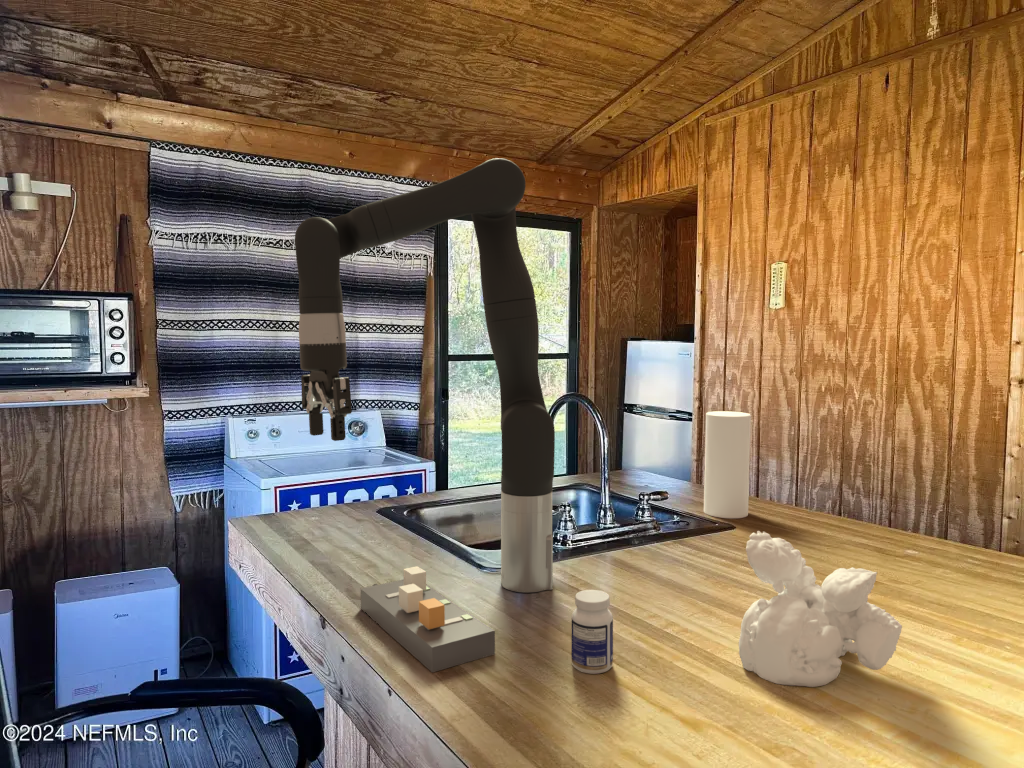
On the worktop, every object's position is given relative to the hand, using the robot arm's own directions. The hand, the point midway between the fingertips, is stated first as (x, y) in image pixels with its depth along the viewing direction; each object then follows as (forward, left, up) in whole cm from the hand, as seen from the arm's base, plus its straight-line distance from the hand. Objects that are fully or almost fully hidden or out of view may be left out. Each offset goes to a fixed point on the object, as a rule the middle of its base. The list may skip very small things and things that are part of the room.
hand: (327, 437), depth 122 cm
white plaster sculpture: (-74, +22, -28) cm, 82 cm away
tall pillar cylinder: (-84, -59, -28) cm, 106 cm away
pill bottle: (-43, +23, -28) cm, 56 cm away
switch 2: (-16, +13, -24) cm, 32 cm away
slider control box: (-16, +10, -28) cm, 34 cm away
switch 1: (-15, +5, -24) cm, 29 cm away
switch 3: (-20, +19, -24) cm, 37 cm away
